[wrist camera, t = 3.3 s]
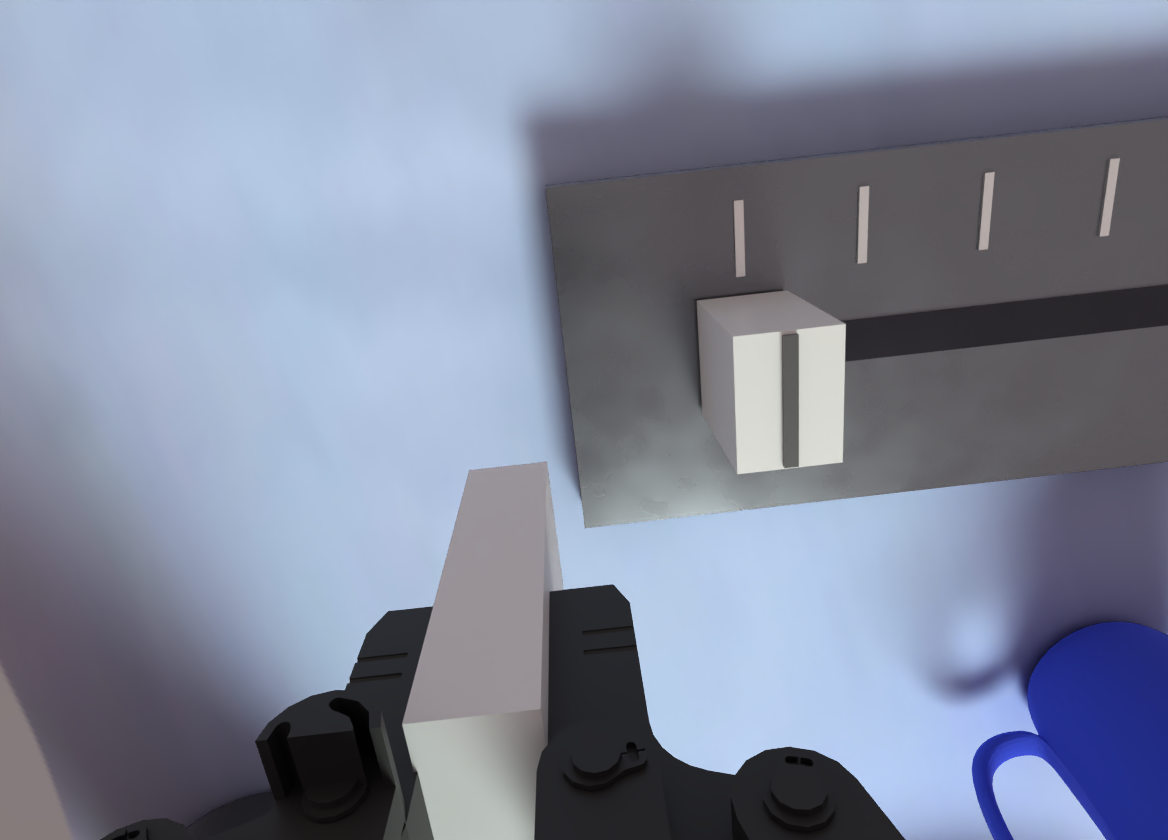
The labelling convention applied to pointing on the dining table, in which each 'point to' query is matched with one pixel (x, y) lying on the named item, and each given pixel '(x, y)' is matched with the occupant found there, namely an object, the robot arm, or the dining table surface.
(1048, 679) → the mug
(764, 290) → the console
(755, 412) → the block
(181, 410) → the dining table surface
